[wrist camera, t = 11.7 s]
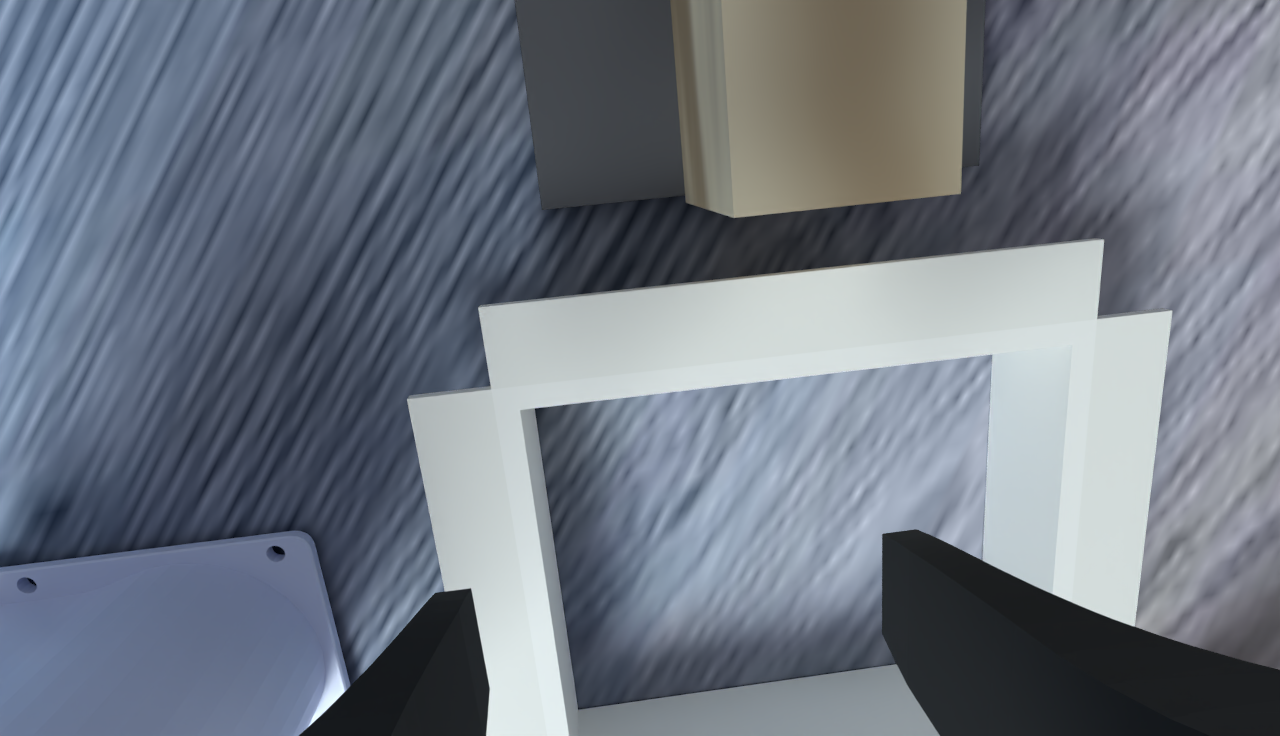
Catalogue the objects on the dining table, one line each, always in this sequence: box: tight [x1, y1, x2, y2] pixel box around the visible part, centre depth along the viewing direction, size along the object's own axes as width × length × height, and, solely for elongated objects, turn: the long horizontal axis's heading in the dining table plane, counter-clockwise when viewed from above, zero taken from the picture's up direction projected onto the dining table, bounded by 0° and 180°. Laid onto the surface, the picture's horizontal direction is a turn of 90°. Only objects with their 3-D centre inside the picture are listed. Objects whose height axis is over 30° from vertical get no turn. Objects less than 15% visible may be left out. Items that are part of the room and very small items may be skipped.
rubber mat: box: [515, 0, 986, 210], centre depth 18 cm, size 12×9×1 cm
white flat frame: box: [407, 238, 1172, 736], centre depth 21 cm, size 19×17×4 cm
